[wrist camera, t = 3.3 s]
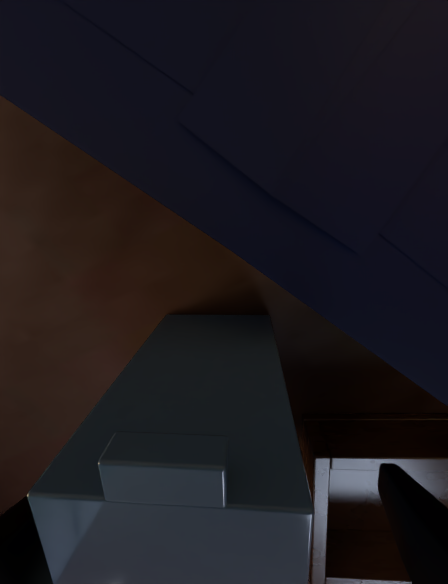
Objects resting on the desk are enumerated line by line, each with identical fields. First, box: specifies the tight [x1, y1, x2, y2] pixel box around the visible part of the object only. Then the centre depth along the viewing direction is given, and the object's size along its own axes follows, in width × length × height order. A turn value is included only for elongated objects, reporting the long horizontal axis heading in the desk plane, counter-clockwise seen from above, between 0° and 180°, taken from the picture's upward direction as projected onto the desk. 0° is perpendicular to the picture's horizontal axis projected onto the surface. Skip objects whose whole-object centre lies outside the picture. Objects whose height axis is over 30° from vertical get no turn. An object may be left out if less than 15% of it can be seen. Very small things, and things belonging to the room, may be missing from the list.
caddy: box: [302, 413, 448, 584], centre depth 15 cm, size 15×9×3 cm, turn 94°
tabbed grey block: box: [27, 315, 314, 584], centre depth 11 cm, size 6×11×10 cm, turn 1°
